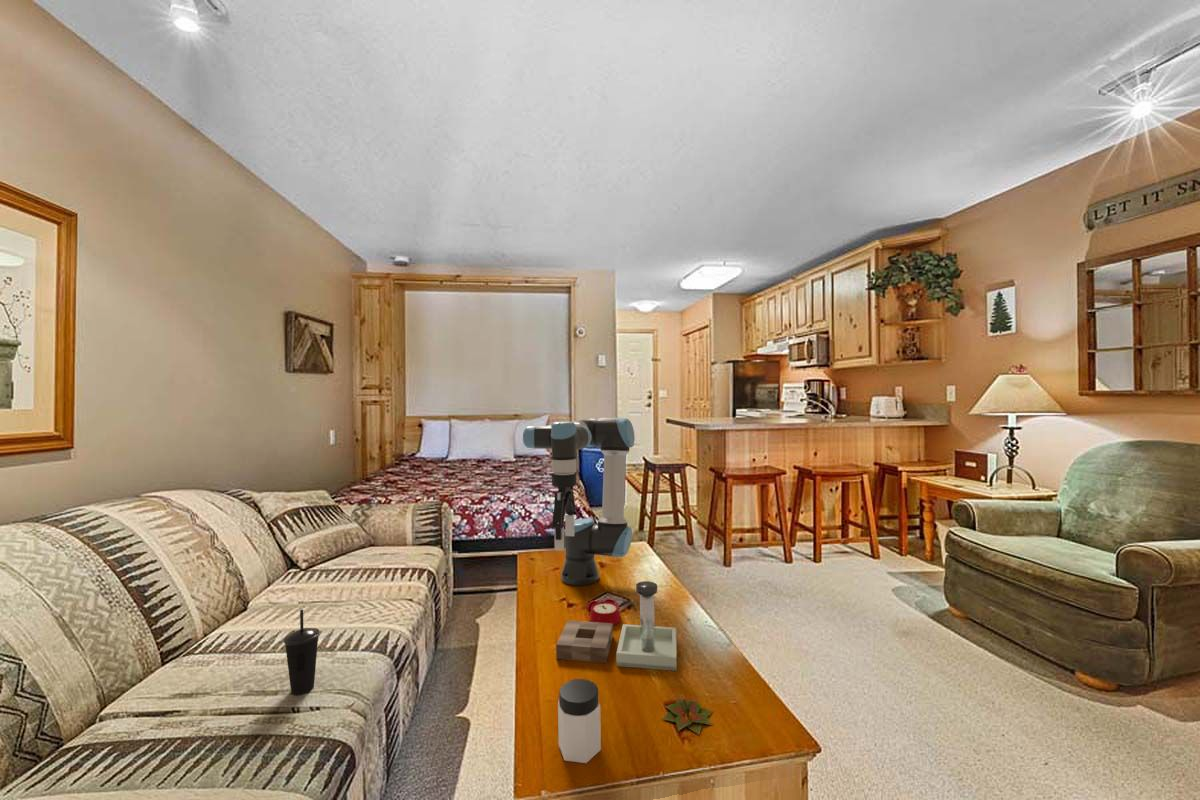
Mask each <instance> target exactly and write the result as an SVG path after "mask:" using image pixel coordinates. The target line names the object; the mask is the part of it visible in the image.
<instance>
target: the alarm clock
mask: <svg viewBox="0 0 1200 800" xmlns="http://www.w3.org/2000/svg"><path fill="white" fill-rule="evenodd" d="M587 611H588V613H589V617H588V618H589V619H588V620H589V622H599V623H613V626H615V625H618V624H619V623H620V622H621V620H622V617H621V616H622V615H621V614H620V607H619V605H618V604H617V603H616V601H615V600H614V599H612V598H606V599H605V600H601V601H600V600H594V599H593V600H591V601H590V602H589V603H588V604H587ZM590 611H591V613H590Z"/></svg>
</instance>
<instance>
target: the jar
mask: <svg viewBox="0 0 1200 800" xmlns="http://www.w3.org/2000/svg"><path fill="white" fill-rule="evenodd" d="M557 718H558V721H557V725H558V727H557V728H558V731H557V732H558V747H559V749H560V753H561V755H562V758H563V760H564V761H565V762H573V763H580V764H587V763H588V762H590V761H591V760H592V758H594V757H595V756H596V755H597V754H598V753H600V751H601V749H602V745H601V743H602V740H601V739H602V738H601V737H602V736H601V735H602V734H601V731H602V730H601V724H602V723H601V704H600V702H599V688H598V686H597V684H596V683H594V682H593V681H591V680H589V679H584V678H574V679H571V680H568V681H566V682H565V683H563V684H562V685H561V687H560V688H559V693H558V701H557Z"/></svg>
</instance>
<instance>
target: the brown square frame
mask: <svg viewBox="0 0 1200 800" xmlns="http://www.w3.org/2000/svg"><path fill="white" fill-rule="evenodd" d="M613 628H614V625H613V623H599V622H590V621H581V620H580V621H578V620H567V621H566V624H565V625H564V627H563V630H562V631H561V634H560V636H559V637H558V640H557V642H556V643H555V644H556V647H555V651H556V653H555V655H556V656H555V657H556V659H557V660H564V661H565V660H567V661H575V662H576V661H577V662H579V661H580V662H591V663H604V664H606V663H607V662H606V661H608V658H607V657H609V654H610V649H611V646H612V643H613V642H612V641H613V637H614V629H613Z"/></svg>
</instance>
